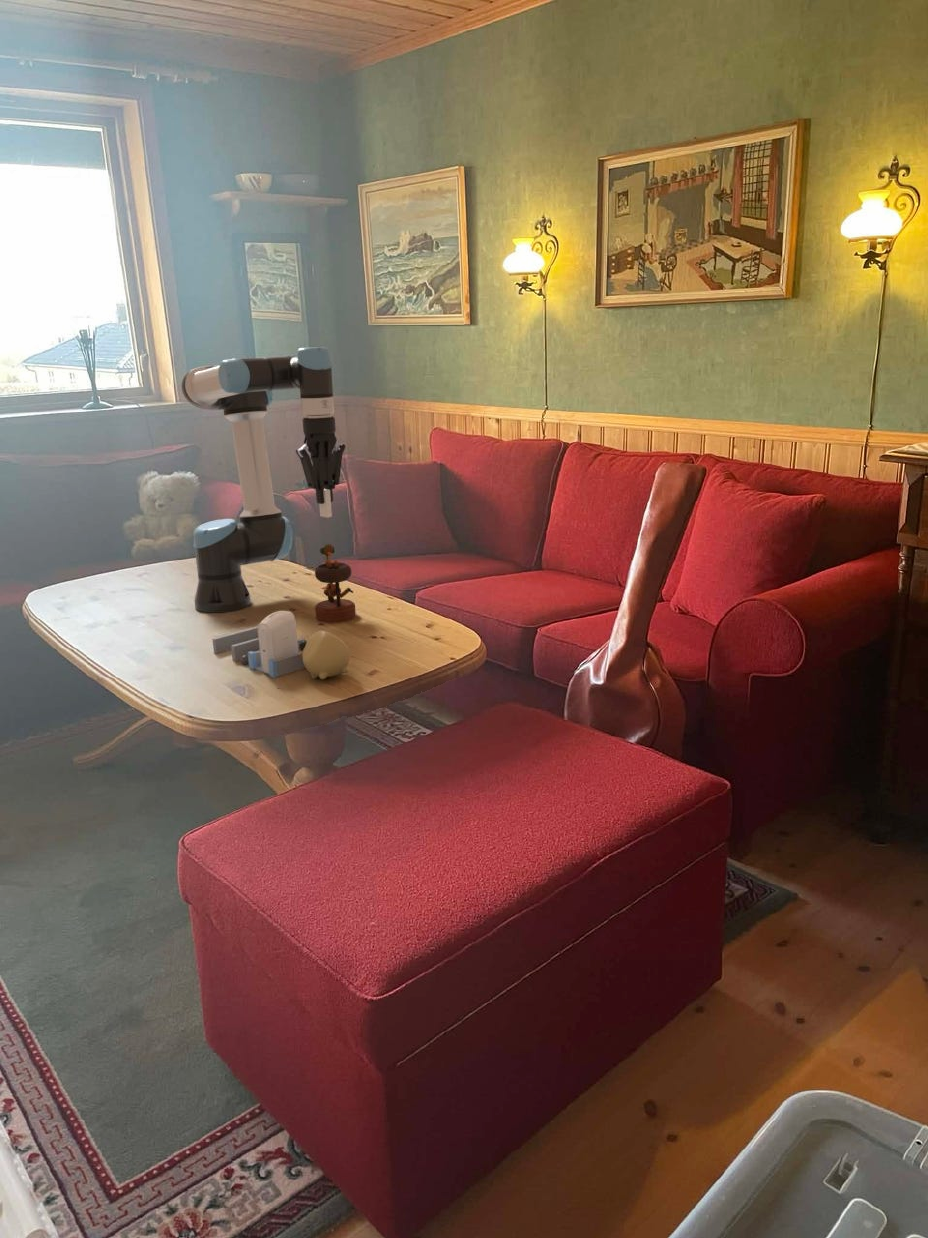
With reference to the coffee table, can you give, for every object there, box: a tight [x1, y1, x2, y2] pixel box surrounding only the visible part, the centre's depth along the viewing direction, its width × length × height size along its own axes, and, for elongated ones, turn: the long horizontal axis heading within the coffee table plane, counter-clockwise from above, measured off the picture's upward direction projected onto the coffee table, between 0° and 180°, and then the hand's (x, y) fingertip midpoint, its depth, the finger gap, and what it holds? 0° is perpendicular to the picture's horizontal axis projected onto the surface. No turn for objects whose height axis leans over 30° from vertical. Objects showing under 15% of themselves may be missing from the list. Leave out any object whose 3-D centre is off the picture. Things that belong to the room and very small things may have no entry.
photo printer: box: [257, 610, 299, 674], centre depth 207 cm, size 10×4×12 cm, turn 155°
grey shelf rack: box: [212, 625, 307, 679], centre depth 216 cm, size 26×16×4 cm, turn 45°
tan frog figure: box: [299, 630, 351, 680], centre depth 200 cm, size 10×12×11 cm
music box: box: [314, 543, 357, 624], centre depth 242 cm, size 15×11×20 cm
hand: (326, 516), depth 224 cm, fingers closed
